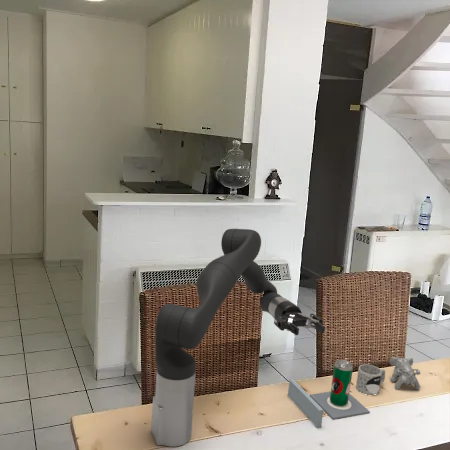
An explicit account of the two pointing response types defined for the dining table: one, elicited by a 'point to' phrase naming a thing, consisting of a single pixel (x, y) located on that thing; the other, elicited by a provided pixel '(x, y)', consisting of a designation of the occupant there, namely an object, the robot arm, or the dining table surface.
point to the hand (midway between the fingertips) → (310, 331)
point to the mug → (369, 379)
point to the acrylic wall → (305, 403)
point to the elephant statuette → (404, 372)
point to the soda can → (341, 383)
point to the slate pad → (339, 411)
